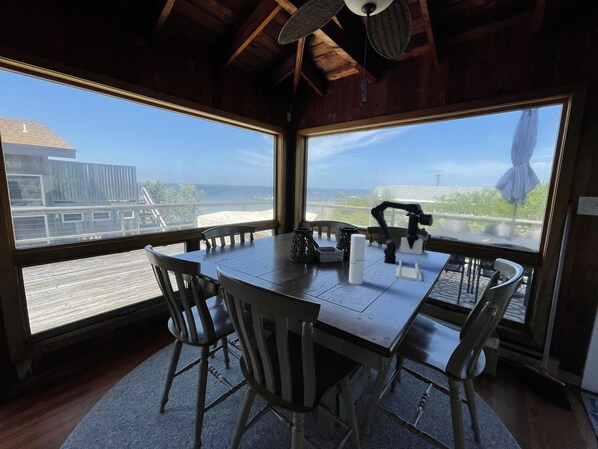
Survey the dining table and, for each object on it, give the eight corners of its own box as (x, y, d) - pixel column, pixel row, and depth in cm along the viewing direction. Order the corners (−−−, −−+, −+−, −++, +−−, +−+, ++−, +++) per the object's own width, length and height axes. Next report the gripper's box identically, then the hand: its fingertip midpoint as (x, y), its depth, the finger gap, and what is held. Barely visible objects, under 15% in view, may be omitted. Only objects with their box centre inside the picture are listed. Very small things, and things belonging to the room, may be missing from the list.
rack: (395, 277, 141) (396, 267, 140) (396, 268, 158) (397, 259, 157) (421, 281, 137) (422, 271, 136) (419, 271, 153) (420, 261, 152)
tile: (400, 251, 160) (401, 238, 159) (400, 251, 162) (401, 237, 161) (421, 254, 156) (422, 239, 154) (421, 253, 158) (422, 239, 156)
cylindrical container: (362, 285, 129) (366, 237, 126) (348, 283, 131) (351, 236, 127) (362, 280, 136) (365, 234, 132) (348, 278, 138) (351, 233, 134)
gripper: (429, 227, 145) (426, 253, 147) (426, 222, 162) (423, 246, 164) (408, 225, 149) (405, 251, 151) (407, 221, 166) (405, 244, 168)
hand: (410, 248), depth 158 cm, fingers closed on tile, 2 cm apart
